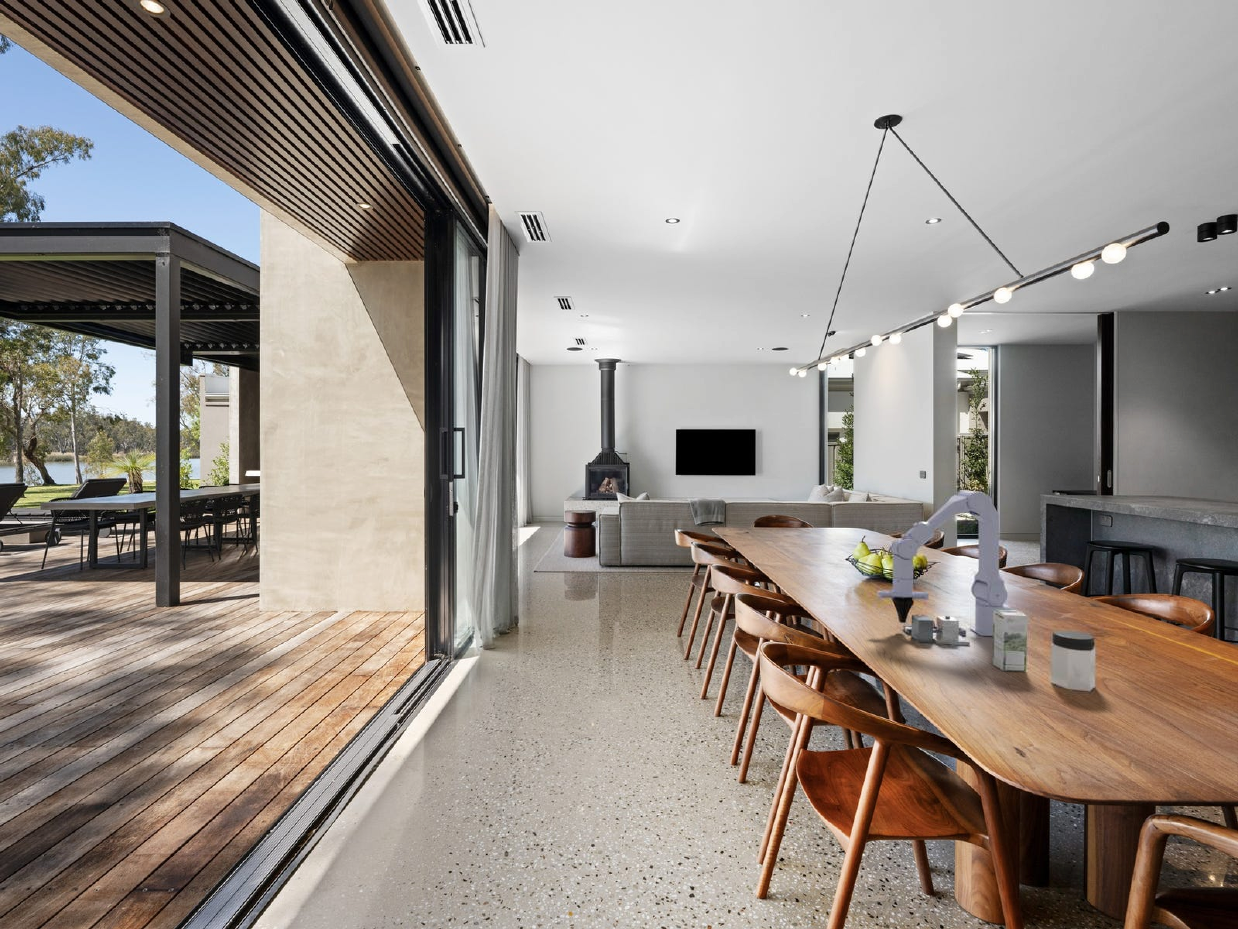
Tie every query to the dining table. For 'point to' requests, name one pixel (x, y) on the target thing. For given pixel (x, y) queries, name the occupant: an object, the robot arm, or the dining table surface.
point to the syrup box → (1010, 640)
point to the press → (931, 632)
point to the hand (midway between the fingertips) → (902, 622)
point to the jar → (1073, 660)
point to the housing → (947, 627)
